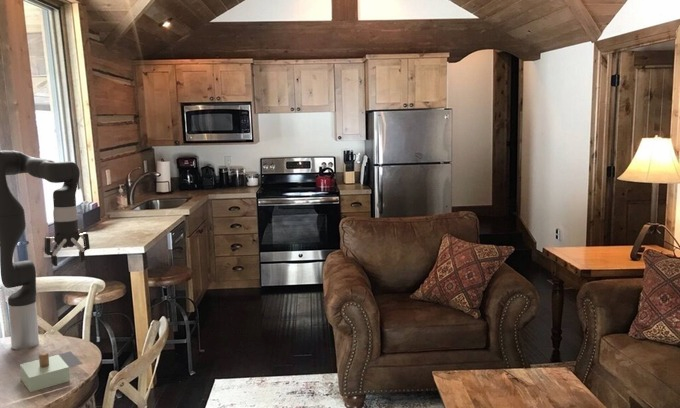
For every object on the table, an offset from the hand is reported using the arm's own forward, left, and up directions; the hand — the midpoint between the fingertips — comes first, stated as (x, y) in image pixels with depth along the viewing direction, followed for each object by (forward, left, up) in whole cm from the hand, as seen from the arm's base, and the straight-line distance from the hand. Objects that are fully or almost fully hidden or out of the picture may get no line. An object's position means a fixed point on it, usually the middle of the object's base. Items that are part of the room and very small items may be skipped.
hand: (68, 263), depth 194 cm
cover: (+11, -12, -36) cm, 40 cm away
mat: (-1, -6, -36) cm, 37 cm away
